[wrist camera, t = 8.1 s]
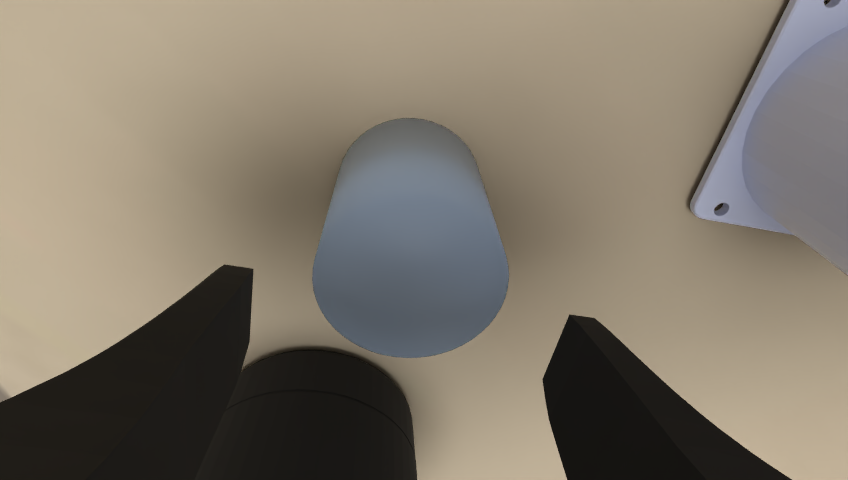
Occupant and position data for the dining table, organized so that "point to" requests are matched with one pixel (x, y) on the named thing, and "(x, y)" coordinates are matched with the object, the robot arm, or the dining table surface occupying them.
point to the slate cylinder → (409, 244)
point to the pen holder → (312, 423)
